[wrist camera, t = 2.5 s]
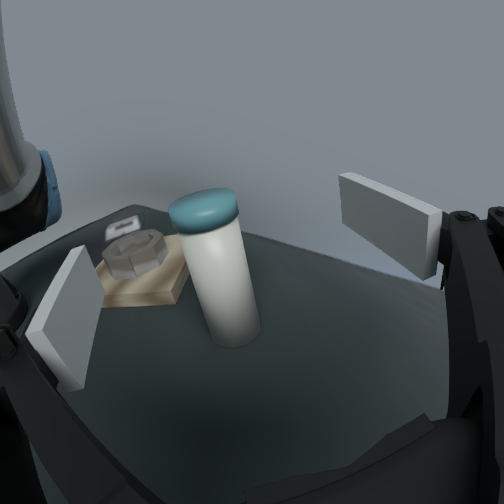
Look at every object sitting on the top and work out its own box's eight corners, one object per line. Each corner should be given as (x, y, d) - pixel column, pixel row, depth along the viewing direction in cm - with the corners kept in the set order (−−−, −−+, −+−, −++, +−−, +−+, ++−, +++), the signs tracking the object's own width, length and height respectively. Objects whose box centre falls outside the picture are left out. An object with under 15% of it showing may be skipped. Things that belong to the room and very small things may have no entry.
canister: (204, 350, 28) (158, 218, 22) (214, 314, 33) (179, 194, 27) (261, 347, 28) (229, 206, 21) (264, 310, 32) (239, 184, 26)
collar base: (77, 308, 38) (62, 279, 36) (121, 253, 52) (111, 228, 50) (175, 304, 36) (162, 268, 34) (204, 242, 50) (196, 213, 48)
